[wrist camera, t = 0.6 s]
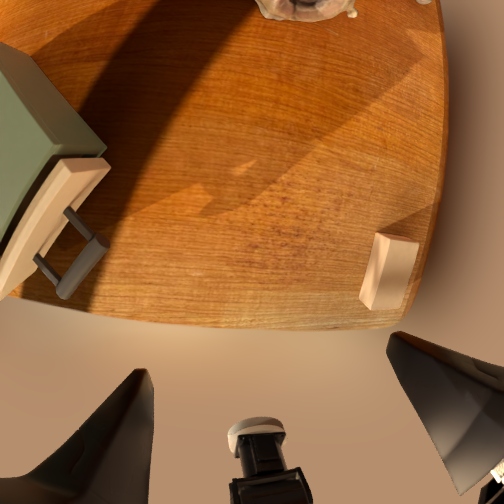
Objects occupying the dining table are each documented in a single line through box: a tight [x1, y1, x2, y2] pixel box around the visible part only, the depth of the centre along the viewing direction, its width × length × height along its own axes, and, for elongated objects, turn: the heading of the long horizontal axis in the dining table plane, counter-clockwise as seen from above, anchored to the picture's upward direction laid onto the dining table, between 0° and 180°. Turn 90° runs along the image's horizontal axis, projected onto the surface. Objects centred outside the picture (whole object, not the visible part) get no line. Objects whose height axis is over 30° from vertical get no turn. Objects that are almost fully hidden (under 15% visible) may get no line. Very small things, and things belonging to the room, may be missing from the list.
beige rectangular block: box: [359, 232, 420, 310], centre depth 25 cm, size 7×4×2 cm, turn 172°
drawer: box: [0, 154, 111, 301], centre depth 14 cm, size 18×12×7 cm
